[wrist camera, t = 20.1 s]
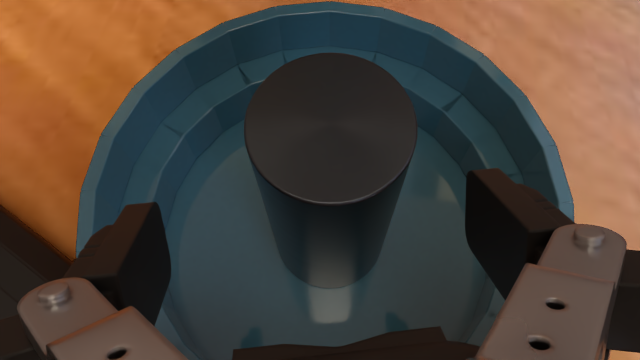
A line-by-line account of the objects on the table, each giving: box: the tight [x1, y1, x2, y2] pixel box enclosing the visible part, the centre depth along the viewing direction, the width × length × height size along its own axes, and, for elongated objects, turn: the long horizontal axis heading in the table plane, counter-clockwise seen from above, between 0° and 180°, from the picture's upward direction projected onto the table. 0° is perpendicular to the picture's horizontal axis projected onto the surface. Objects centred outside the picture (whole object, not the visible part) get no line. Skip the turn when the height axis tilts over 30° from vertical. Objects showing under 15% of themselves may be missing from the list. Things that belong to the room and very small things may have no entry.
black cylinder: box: [244, 53, 418, 288], centre depth 20 cm, size 5×5×10 cm
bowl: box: [76, 1, 574, 360], centre depth 23 cm, size 18×18×6 cm
